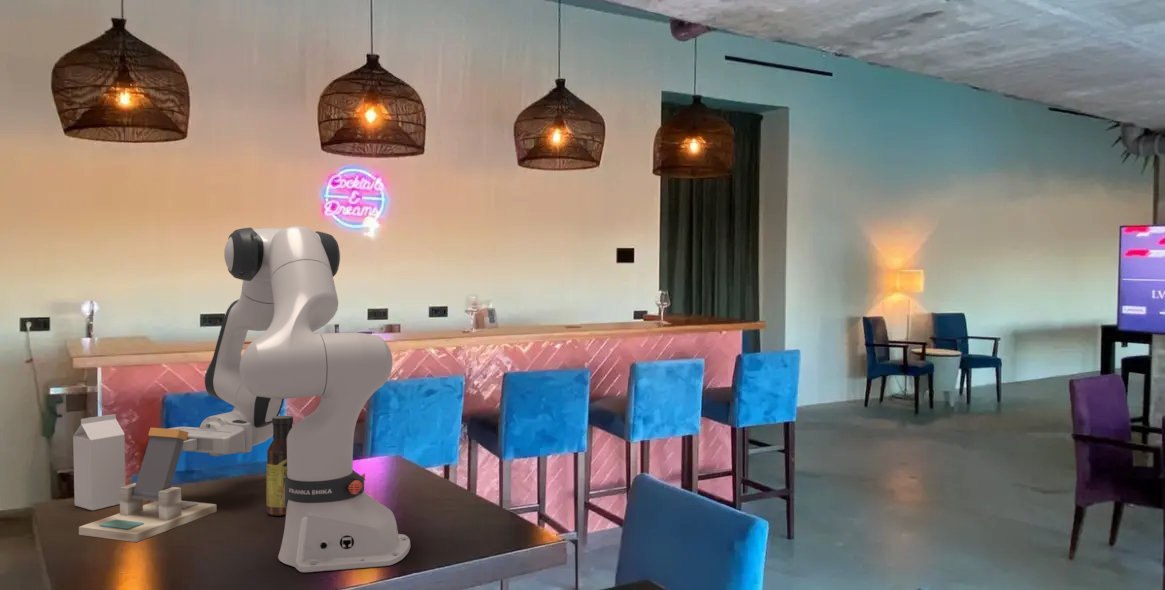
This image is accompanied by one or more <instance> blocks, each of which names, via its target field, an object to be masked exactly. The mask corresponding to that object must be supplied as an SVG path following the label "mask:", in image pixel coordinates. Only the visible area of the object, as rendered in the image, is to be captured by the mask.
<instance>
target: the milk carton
mask: <svg viewBox="0 0 1165 590" xmlns="http://www.w3.org/2000/svg"><path fill="white" fill-rule="evenodd" d="M116 416H117V414H116V413H114V414H113V413H112V414H106V415H99V416H94V417H93V416H91V417H85V418H81V419H80V425H79V426H78V428H77V430H76V431H75V433H74V434H73V436H72V445H73V449H72V450H73V451H72V452H73V490H74V491H73V492H74V494H73V495H74V506H76V507H79V508H83V509H84V510H85V509H86V510H88V511H89V510H90V511H96V510H101V509H105V508H109V507H113V506H118V505H120V487H123V486H126V485H127V484H126V451H125V450H126V445H125V444H126V442H125V438H126V437H125V434H126V433H125V432H124V430H123V429H122V426H120V424H119V422H118V420H117V417H116Z"/></svg>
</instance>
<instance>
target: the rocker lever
mask: <svg viewBox="0 0 1165 590" xmlns="http://www.w3.org/2000/svg"><path fill="white" fill-rule="evenodd" d="M188 433H189V432H186V431H182V430H177V429H169V428H163V427H150V429H149V431H148V436H149V439H148V443H147V446H146V449H145V452H144V456H143V460H142V463H141V465H140V466H141V467H140V469H139V472H138V475H137V479H136V482H135V483H136V485H135V489H134V492H133V495H132V498H133V499H139V500H143V501H148V502H149V501H150V502H155V501H157V502H159V496H158V492H159V491H162V490H165V489H168V488H171V487H172V483H173V480H174V477H175V473H176V469H177V466H178V463H179V459H180V455H181V453H182V451H181V449H182V446H183V442H184V440H187V436H188Z"/></svg>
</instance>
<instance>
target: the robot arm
mask: <svg viewBox="0 0 1165 590" xmlns="http://www.w3.org/2000/svg"><path fill="white" fill-rule="evenodd" d="M223 253H224V262H225V265H226V267H227V270H228V273H229V274H230V275H231V277H233V278H235V279H236V280H237V279H238V280H241V281H242V287H241V294H240V296H239V298H238V299H237V300H234V301H233V302H232V303H230V305H229V306H228V308H227V309H226V312H225V314H224V317H223V320H222V323H221V327H220V331H219V334H218V338H217V342H216V344H215V349H214V353H213V355H212V356H213V357H212V359H211V362H210V363H209V365H208V367H207V369H206V372H205V375H204V385H205V390H206V393H208V395H209V396H211V397H213V398H215V399H218V400H221V401H223V402H226V403H228V404H229V405H231V406H232V407H234V408H233V409H232V410H231V411H229V412H228V411H227V412H223V413H220V414H215V415H211V416H208V417H206V418H204V419H203V421H202V422H201V424H200V426H199V427H196V426H195V427H192V426H176V427H170V428H168V429H177V430H182V431H186V432H189V433H188V436H187V440H184V442H183V446H182V449H181V452H193V453H194V452H196V453H206V454H208V455H209V456H213V457H220V456H224V455H225V456H226V455H233V454H247V453H250V452H252V450H253V447H254V446H257V445H260V444H262V443H264V442H267V441H268V440H270V439H272V438H273V423H272V418H273V417H275V416H281V414H280V413H281V412H282V411H281V410H282V408H283V406H284V400H287V399H298V398H309V397H310V398H311V397H320V401H319V404H318V406H317V408H316V409H315V410H314V411H313V412H311V413H310V414H308V415H306V416H305V417H303V418H301V419H300V420H299V421H297V422H296V423H295V424H293V425H292V428H291V430H290V431H289V433H288V436H287V475H286V476H285V484H284V501H285V507H286V508H287V509H286V515H285V522H284V528H283V529H284V530H283V535H282V540H281V544H280V548H279V549H280V550H279V552H278V555H277V558H278V560H279V562H282V563H283V564H285V565H286V566H287V565H288V566H291V567H294V568H295V569H296V570H297V571H299V572H300V573H314V572H324V571H325V572H327V571H338V570H351V569H362V568H374V567H376V568H377V567H389V566H392V565H394V564H396V563H398V562H400V561H402V560H403V559H404V558H405V557H406V556H407V555H408V554H409V552H410V549H411V540H410V538H409V536H407V535H406V534H403V533H401V534H400V533H399V531H398V525H397V520H396V517H395V515H394V513H393V511H392V510H391V509H390V508H388V507H387V506H385V505H383V504H382V503H380V502H379V501H378V500H376V499H375V498H374V497H372V496H371V495H370V494H368V493H366V492H365V481H366V478H365V477H366V473H363V474H359V473H358V472H356V471H355V470H354V469H353V468H354V467H353V466H354V462H353V461H354V457H353V455H354V438H355V430H356V424H357V421H358V419H359V416H360V414H361V412H362V411H363V408H364V406H365V405H366V403H367V402H368V400H369V399H371V397H372V396H373V395H374V393H376V392H377V391H379V389H380V388H382V387H383V386H384V385H385V383H386V382H387V381H388V379H389V377H390V375H391V373H392V370H393V364H394V363H393V362H394V361H393V355H392V351H391V348H390V346H389V345H388V343H387V342H386V340H384V338H383V337H381V336H380V335H376V334H370V333H366V332H365V333H364V332H358V331H352V332H349V331H348V332H328V333H327V332H325V333H324V332H323V333H318V332H315V331H317V330H319V329H321V328H323V327H324V326H326V325H327V324H328V323H329V322H331V320H333V318H334V317H335V315H336V314H337V312H338V310H339V309H338V308H339V298H338V294H337V289H336V286H335V285H336V284H335V280H334V276H336V275H337V273H338V271H339V267H340V262H341V252H340V246H339V244H338V241H337V240H336V238H335V237H334V236H333V235H332V234H329V233H327V232H323V231H313V230H312V229H311V228H309V227H307V226H302V225H290V226H286V227H263V228H261V227H260V228H252V227H243V228H239V229H235V230H233V231H232V232H231V233H230V234H229V235H228V239H227V241H226V243H225V248H224V252H223ZM248 331H254V332H263V333H262V334H261V335H259V336H258V337H257V338H255V339H254V340H253V341H251V342H250V343H249V344H248V345H247V346H246V348H245V350H244V351H243V348H244V345H245V341H246V338H247V334H248ZM242 351H243V353H242Z"/></svg>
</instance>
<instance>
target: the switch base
mask: <svg viewBox="0 0 1165 590" xmlns="http://www.w3.org/2000/svg"><path fill="white" fill-rule="evenodd" d="M135 485H136V482H133V483H130V484H126V486H123V487H120V504H119V513H116V514H114V515H110V516H107V517H105V518H104V517H103V518H101V519H98V520H96V521H92V522H89V523H86V524H83V525H81V526H78V535H79V536H86V537H95V538H100V539H109V540H117V541H124V542H131V543H138V542H141V541H144V540H146V539H149V538H151V537H154V536H156V535H159V534H162V533H164V532H167V531H169V530H172V529H174V528H178V527H180V526H183V525H186V524H188V523H191V522H194V521H196V520H198V519H201V518H203V517H206V516H209V515H211V514H214V513H216V512H217V510H218V509H217V504H216V503H208V502H207V503H206V502H200V501H199V502H197V501H188V500H182V488H181V487H176V486H171V488H168V489H165V490H162V491H159V492H158V496H159V502H157V501H151V502H149V503H145V504H144V503H143V502H144V500H139V499H133V498H132V495H133V492H134V489H135Z"/></svg>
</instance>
